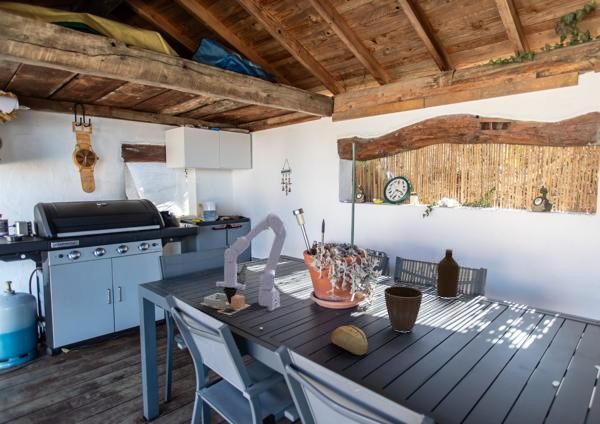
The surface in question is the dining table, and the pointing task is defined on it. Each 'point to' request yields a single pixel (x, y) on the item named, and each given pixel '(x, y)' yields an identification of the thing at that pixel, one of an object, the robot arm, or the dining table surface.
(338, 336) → the bread roll
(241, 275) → the mortar and pestle
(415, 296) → the plant pot
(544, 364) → the dining table surface
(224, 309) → the birch deck
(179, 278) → the dining table surface
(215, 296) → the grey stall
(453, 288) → the olive oil
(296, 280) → the dining table surface
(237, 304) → the terracotta block
